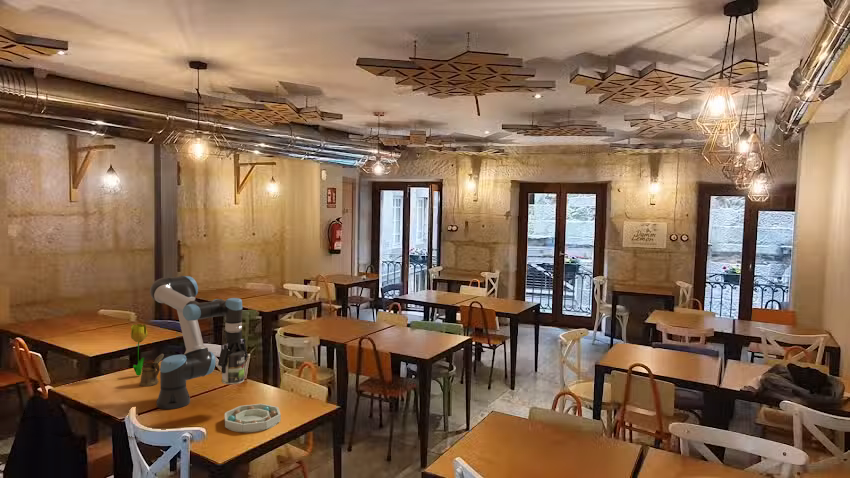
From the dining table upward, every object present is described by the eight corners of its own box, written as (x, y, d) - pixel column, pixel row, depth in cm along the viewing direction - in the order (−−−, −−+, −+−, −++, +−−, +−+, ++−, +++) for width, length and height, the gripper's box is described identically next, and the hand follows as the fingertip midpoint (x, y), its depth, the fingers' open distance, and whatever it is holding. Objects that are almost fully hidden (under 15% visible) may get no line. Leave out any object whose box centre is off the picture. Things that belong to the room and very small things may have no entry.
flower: (127, 378, 310) (126, 325, 308) (137, 373, 318) (136, 322, 316) (140, 379, 308) (140, 326, 306) (150, 375, 316) (150, 323, 314)
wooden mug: (156, 388, 294) (156, 355, 293) (135, 385, 298) (135, 352, 297) (168, 383, 303) (168, 351, 302) (148, 380, 306) (148, 348, 305)
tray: (213, 426, 246) (213, 417, 245) (250, 408, 268) (250, 400, 267) (255, 436, 236) (255, 427, 236) (290, 417, 258) (290, 409, 258)
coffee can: (248, 378, 267) (248, 350, 266) (237, 385, 257) (237, 356, 256) (229, 376, 270) (229, 348, 269) (217, 383, 259) (217, 354, 258)
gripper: (222, 336, 250) (221, 384, 251) (256, 327, 271) (255, 371, 272) (209, 334, 253) (209, 381, 254) (244, 325, 274) (243, 368, 275)
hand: (233, 376), depth 263 cm, fingers closed on coffee can, 10 cm apart
